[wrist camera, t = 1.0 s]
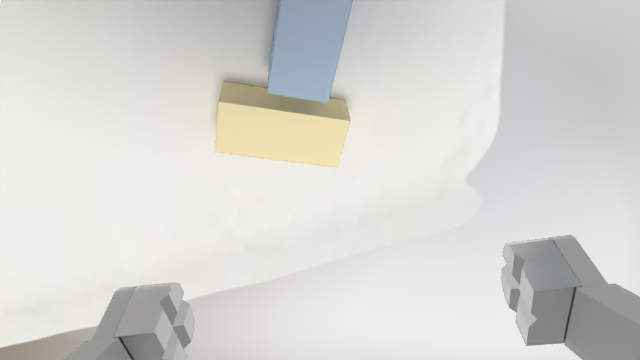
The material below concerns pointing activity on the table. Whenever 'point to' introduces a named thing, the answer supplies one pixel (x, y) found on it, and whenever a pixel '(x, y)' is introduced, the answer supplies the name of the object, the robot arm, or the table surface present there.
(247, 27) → the table surface
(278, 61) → the blue-grey block
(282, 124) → the pale yellow block
